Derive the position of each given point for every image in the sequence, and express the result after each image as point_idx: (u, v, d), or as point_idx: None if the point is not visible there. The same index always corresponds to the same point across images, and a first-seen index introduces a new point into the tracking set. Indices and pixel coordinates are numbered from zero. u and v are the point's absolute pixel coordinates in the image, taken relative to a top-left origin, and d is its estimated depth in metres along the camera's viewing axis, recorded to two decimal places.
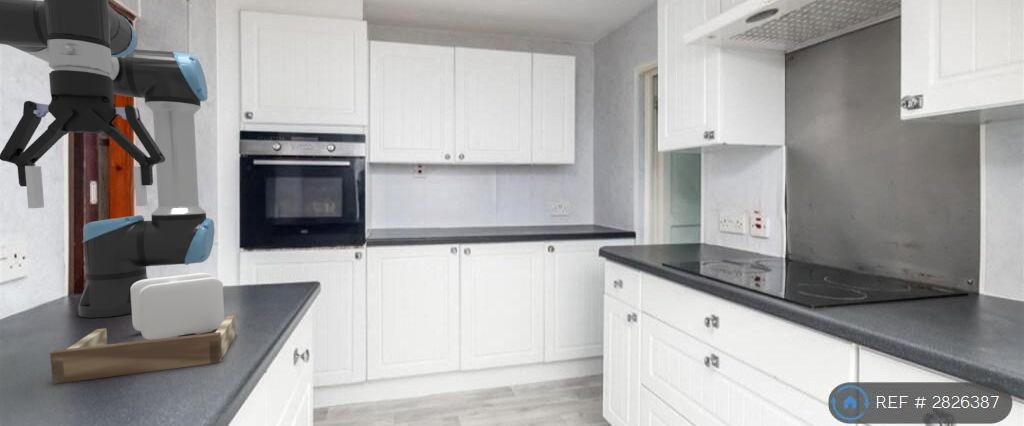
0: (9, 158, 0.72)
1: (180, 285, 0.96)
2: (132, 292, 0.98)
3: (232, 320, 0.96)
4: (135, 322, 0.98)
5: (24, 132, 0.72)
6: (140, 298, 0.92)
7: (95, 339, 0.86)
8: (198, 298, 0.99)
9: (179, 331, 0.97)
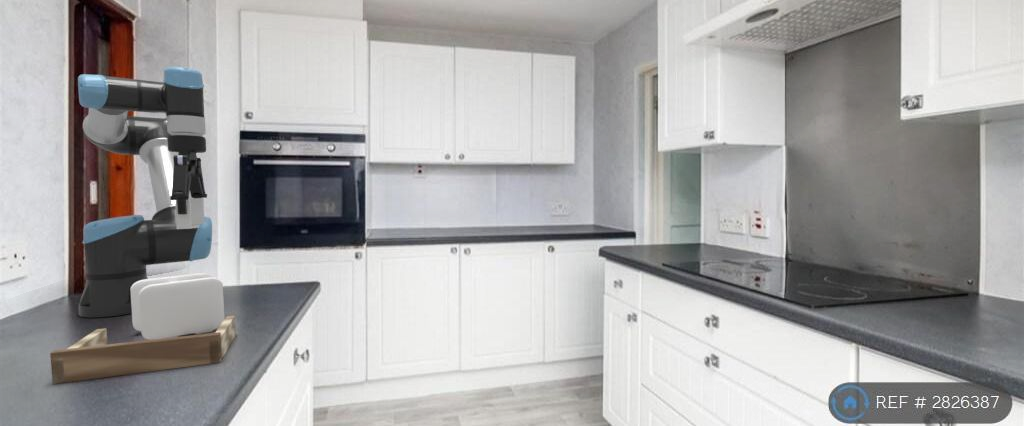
0: None
1: (180, 285, 0.96)
2: (132, 292, 0.98)
3: (232, 320, 0.96)
4: (135, 322, 0.98)
5: None
6: (140, 298, 0.92)
7: (95, 339, 0.86)
8: (198, 298, 0.99)
9: (179, 331, 0.97)
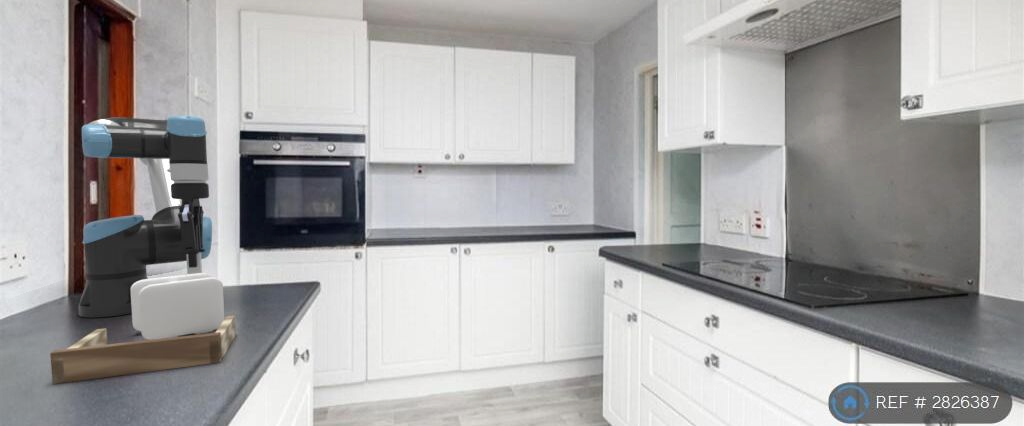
0: None
1: (180, 285, 0.96)
2: (132, 292, 0.98)
3: (232, 320, 0.96)
4: (135, 322, 0.98)
5: None
6: (140, 298, 0.92)
7: (95, 339, 0.86)
8: (198, 298, 0.99)
9: (179, 331, 0.97)
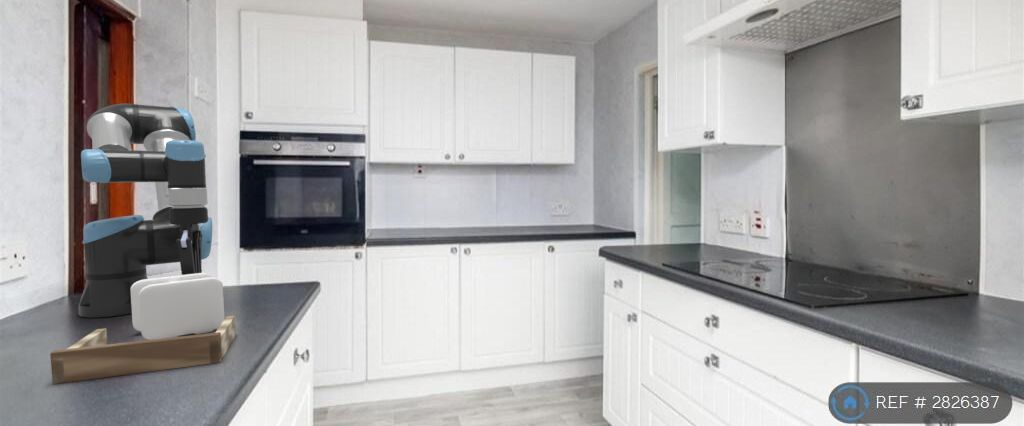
0: None
1: (180, 285, 0.96)
2: (132, 292, 0.98)
3: (232, 320, 0.96)
4: (135, 322, 0.98)
5: None
6: (140, 298, 0.92)
7: (95, 339, 0.86)
8: (198, 298, 0.99)
9: (179, 331, 0.97)
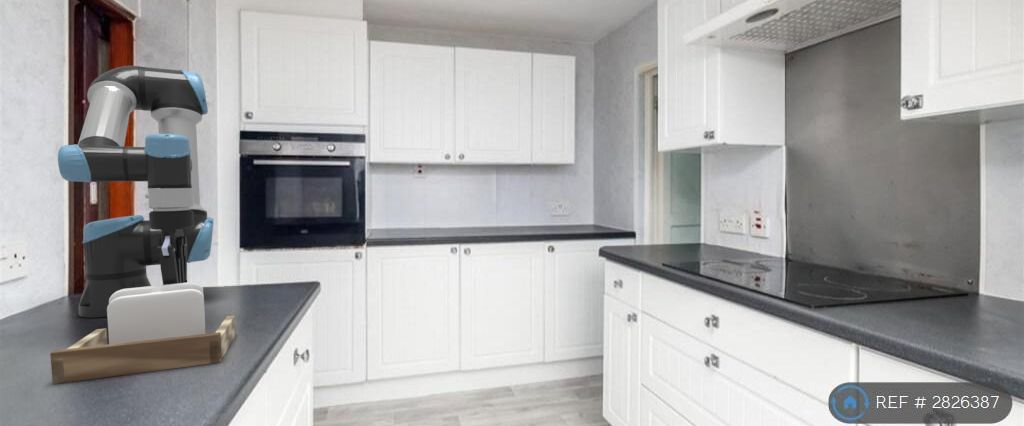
0: None
1: (154, 298, 0.86)
2: None
3: (232, 320, 0.96)
4: None
5: None
6: (108, 312, 0.83)
7: (95, 339, 0.86)
8: (174, 312, 0.87)
9: None
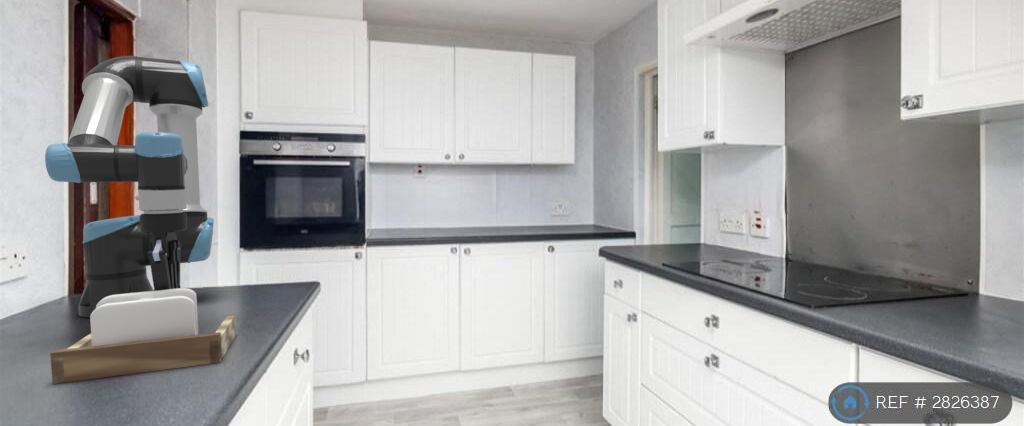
0: None
1: (140, 305, 0.81)
2: None
3: (232, 320, 0.96)
4: None
5: None
6: (91, 320, 0.78)
7: None
8: (162, 321, 0.82)
9: None
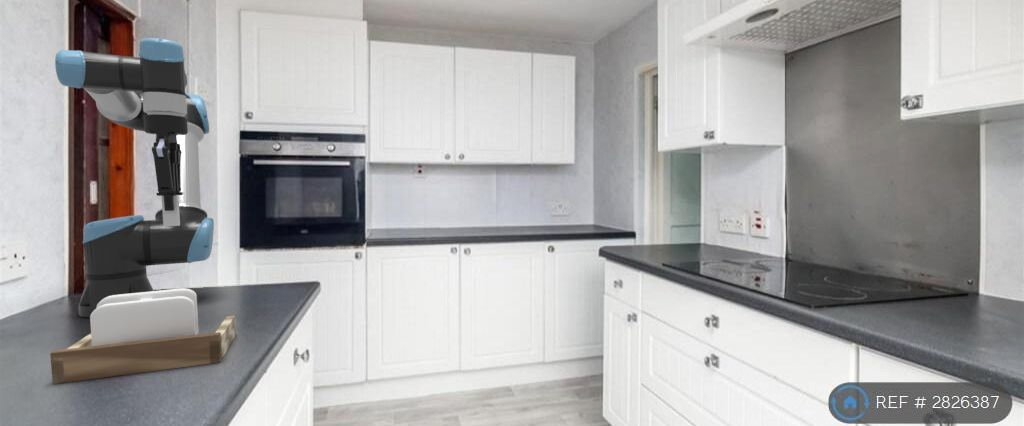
0: None
1: (140, 305, 0.81)
2: None
3: (232, 320, 0.96)
4: None
5: None
6: (91, 320, 0.78)
7: None
8: (162, 321, 0.82)
9: None
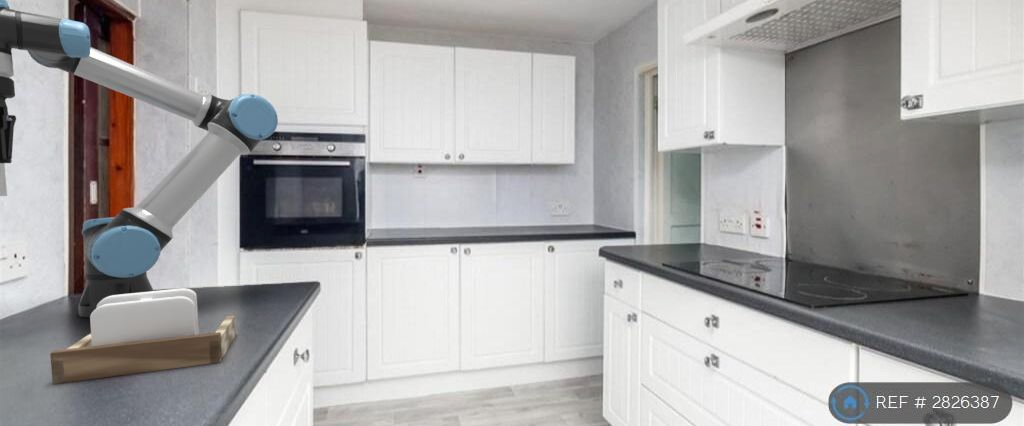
0: None
1: (140, 306, 0.81)
2: None
3: (232, 320, 0.96)
4: None
5: None
6: (91, 320, 0.78)
7: None
8: (162, 321, 0.82)
9: None
